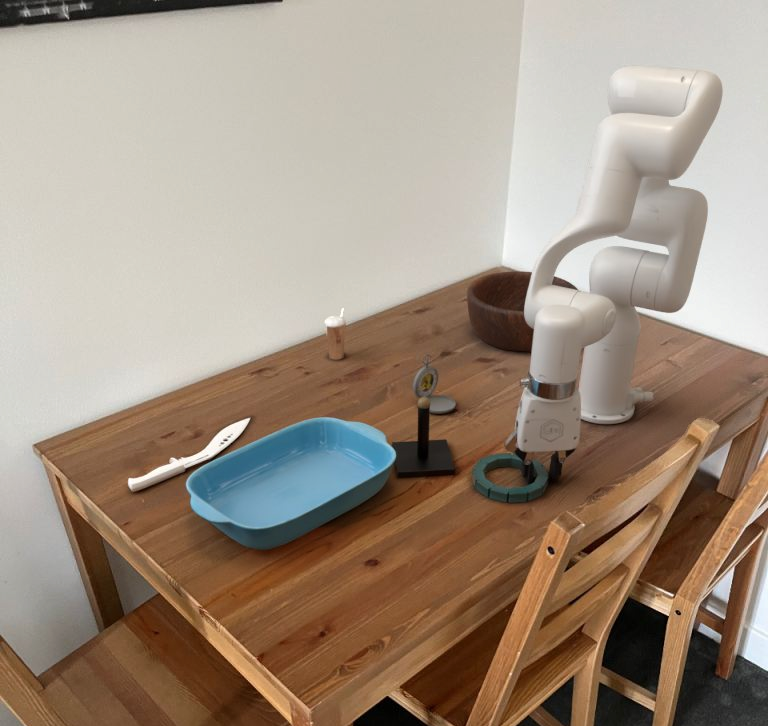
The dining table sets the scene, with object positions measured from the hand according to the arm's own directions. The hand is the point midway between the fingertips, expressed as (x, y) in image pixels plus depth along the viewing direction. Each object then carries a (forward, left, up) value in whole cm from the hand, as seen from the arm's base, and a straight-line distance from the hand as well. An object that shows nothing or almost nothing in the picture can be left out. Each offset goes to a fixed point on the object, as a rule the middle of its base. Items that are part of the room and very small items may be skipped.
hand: (540, 478), depth 147 cm
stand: (+19, -8, 0) cm, 21 cm away
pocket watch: (+14, -28, 0) cm, 31 cm away
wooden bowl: (-10, -59, 0) cm, 60 cm away
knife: (+60, -15, 0) cm, 62 cm away
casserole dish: (+42, +2, 0) cm, 42 cm away
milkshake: (+32, -52, 0) cm, 61 cm away
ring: (+5, 0, 0) cm, 5 cm away
